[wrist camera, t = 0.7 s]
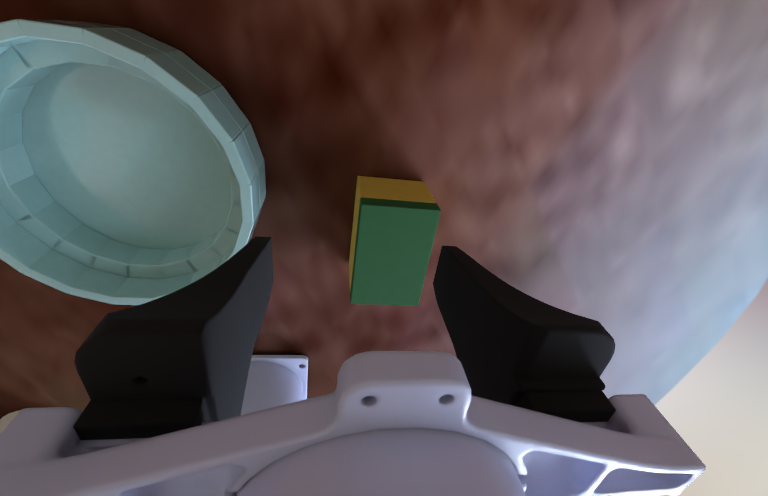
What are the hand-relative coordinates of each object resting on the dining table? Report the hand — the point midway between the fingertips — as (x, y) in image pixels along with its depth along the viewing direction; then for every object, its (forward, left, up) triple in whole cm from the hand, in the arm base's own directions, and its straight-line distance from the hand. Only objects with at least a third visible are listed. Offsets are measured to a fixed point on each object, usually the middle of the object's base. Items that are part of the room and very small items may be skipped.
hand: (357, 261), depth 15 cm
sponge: (-3, -3, -10) cm, 10 cm away
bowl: (0, +12, -10) cm, 16 cm away
